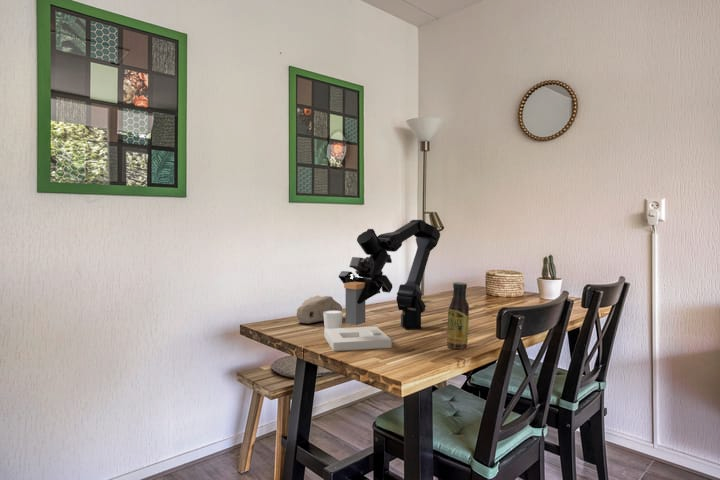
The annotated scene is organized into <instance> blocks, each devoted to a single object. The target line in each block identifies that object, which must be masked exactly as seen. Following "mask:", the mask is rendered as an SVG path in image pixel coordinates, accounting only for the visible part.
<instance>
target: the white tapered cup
mask: <svg viewBox="0 0 720 480" xmlns="http://www.w3.org/2000/svg"><path fill="white" fill-rule="evenodd" d="M343 312H344V311H343V310H342V311H337V310H330V311H325V312H323V314H324V321H323V323H324V329H333V328H343V327H342V325H343V324H342V323H343Z"/></svg>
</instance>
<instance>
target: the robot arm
mask: <svg viewBox="0 0 720 480" xmlns="http://www.w3.org/2000/svg"><path fill="white" fill-rule="evenodd" d="M413 236H414V237H415V242H416V245H417V248H416V251H415V255H414V258H413V261H412V263H411V267H410V271H409V273H408V277H407V280H406V282H405V283H404V284H399V287H398V291H397V292H396V303H397V304H396V305H397V309H398V310H399V311H401V313H402V314H400V327H402V328H403V329H404V330H422V329H423V326H422V314H423V313H424V312H426V307H427V306H426V304H425V301H423V299H422V289H421V284H422V280H423V277H424V275H425V270H426V267H427V264H428V260H429V257H430V254H431V251H432V250H433V249H434V248H436V246H437V245H438V244H439V241H440V238H441V232H440V230H439V229H438V228H437V227H435V226H434V225H431V224H429V223H427V222H426V221H425V220H422V219H411V220H410V221H409V222H407V223H405V224H404V225H402V226H401V227H399V228H397V229H396V230H394V231H391V232H385V233H381V234H379V235H377V234H376V231H375V230H374V229H373V228H367V230H366V231H364V232H362V233H360V234H359V235H358V236H357V238H356V242H357V243H358V245H359V246H360V248H361V249H362V251H363V252H364V253H365V254H366V257H365V258H364V257H357V256H352V257H351V259H350V262H349V263H350V264H349V268H351V269H354V270H355V271H354V272H355V273H356V275H355V274H354V273H353V272H352V271H349V270H348V271H347V270H346V271H345V270H343V271H340V272H339V274H338V278H339V279H340V281H341V282H342V283H343V284H344V283H349V282H362V283H365V287H364V289H363V291H362V293H361V295H360V297H359V299H358V301H357V303H358V304H361V303H362V302H364V301H365V302H366V301H367V300H369V299H370V298H371V297H374V296H376V295H377V294H381V291H382V292H383V293H388V294H389V293H391V291H392V289H393V283H392V282H391V281H390V279H389V278H388V276H387V275H386V274H384V272H383V271H382V270H383V268H384V267H385V265H386V264H392V263H393V260H392V258H391V256H392V255H391V254H389V253H388V252H398V250H399V249H400V248H401V247H402V246H403V242H405V241H407V240H408V239H409V238H411V237H413ZM367 255H368V256H367ZM357 275H358V276H357Z"/></svg>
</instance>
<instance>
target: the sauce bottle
mask: <svg viewBox="0 0 720 480" xmlns="http://www.w3.org/2000/svg"><path fill="white" fill-rule="evenodd" d="M452 284H453V285H452V287H453V293H452V299H451V301H450V305H449V308H448V310H447V328H446V329H447V332H446V342H447V343H446V344H447V346H448V348H450V349H454V350H455V349H456V350H464V349H467V346H468V340H469V339H468V337H469V322H470V321H469V319H470V314H469V313H470V311H469V310H470V309H469V308H470V305H469V303H468V300H467V287H468V283H465V282H460V281H459V282H453V283H452Z"/></svg>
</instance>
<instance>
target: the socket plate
mask: <svg viewBox="0 0 720 480" xmlns="http://www.w3.org/2000/svg"><path fill="white" fill-rule="evenodd" d="M323 332H324V335H323V337H324V338H325V340H326V341H327V343H328V345H329V346H330V348H331V350H332V351H333V352H339V351H340V352H341V351H358V350H370V349H371V350H372V349H389V348H391V349H392V338H391V337H389V335H387V334H386V333H385V332H383V330H381V329H379V327H377V326H357V327H341V328H333V329H325V328H324V331H323Z"/></svg>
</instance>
